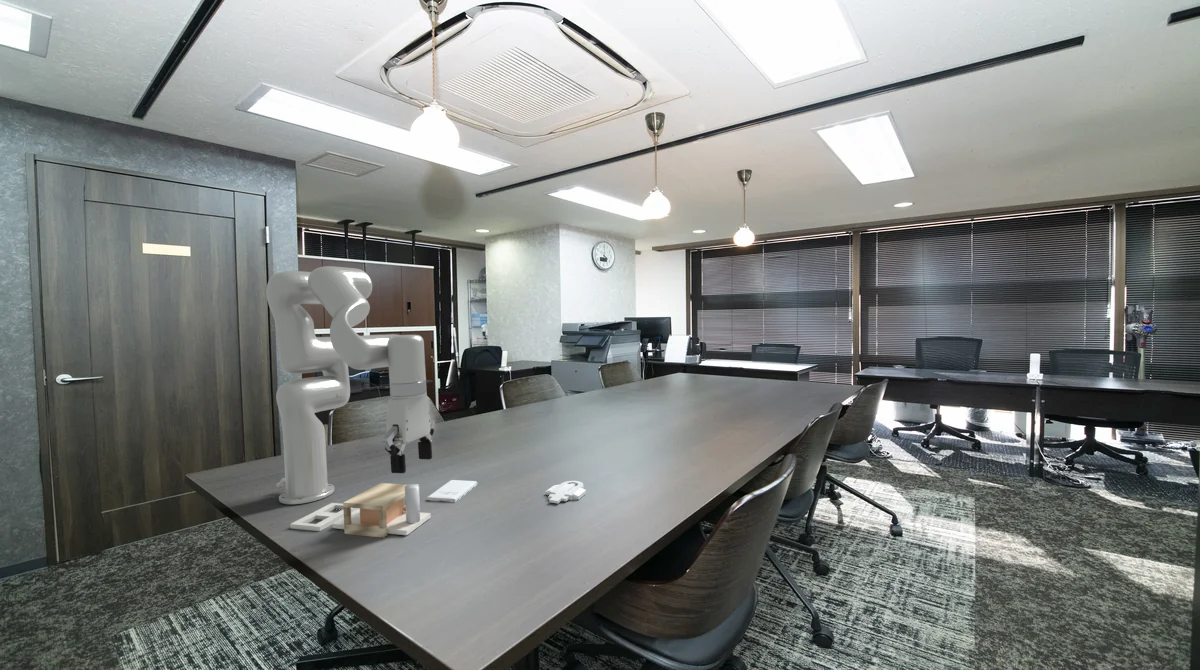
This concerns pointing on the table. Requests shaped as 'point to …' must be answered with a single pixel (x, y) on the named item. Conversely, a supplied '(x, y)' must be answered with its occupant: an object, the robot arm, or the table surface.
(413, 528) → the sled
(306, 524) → the frame
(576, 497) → the toy rocket
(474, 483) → the external hard drive
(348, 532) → the tunnel
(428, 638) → the table surface
